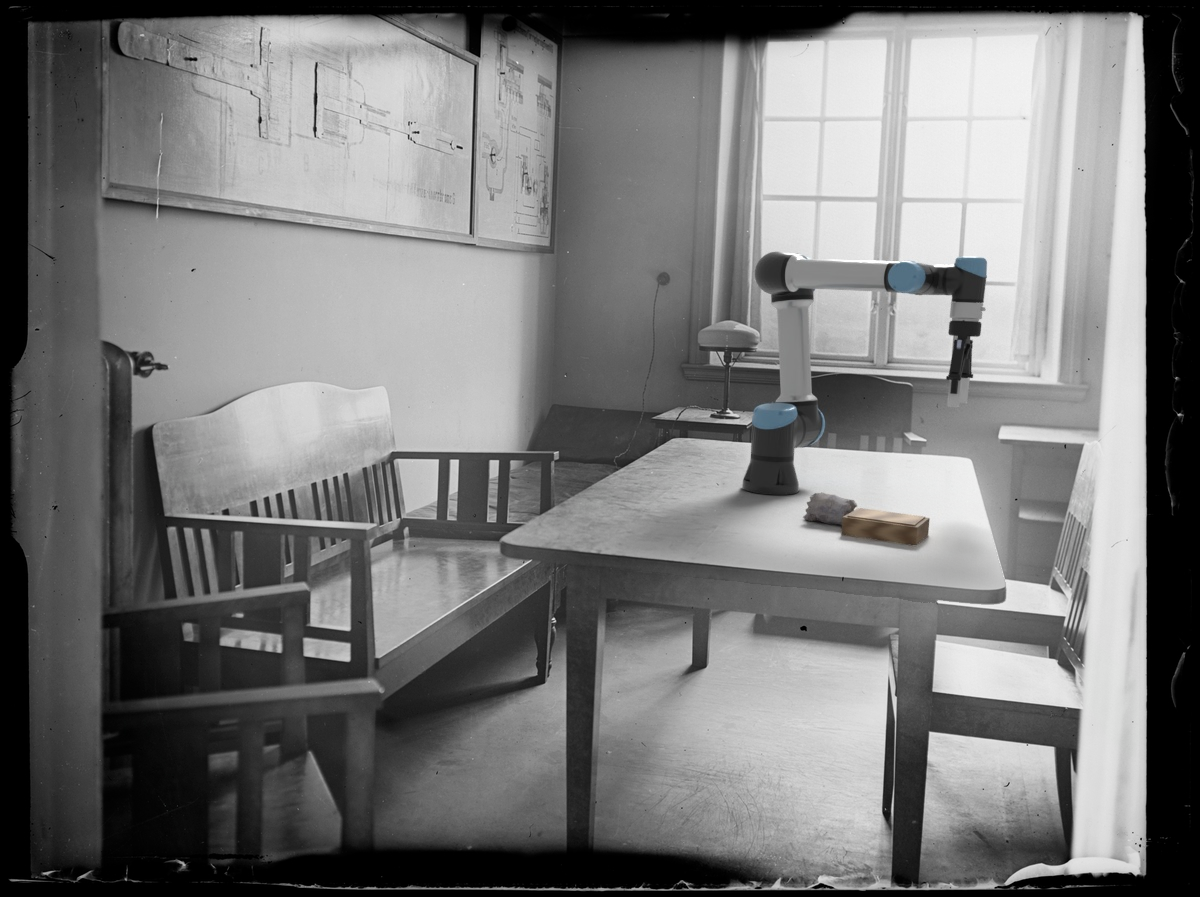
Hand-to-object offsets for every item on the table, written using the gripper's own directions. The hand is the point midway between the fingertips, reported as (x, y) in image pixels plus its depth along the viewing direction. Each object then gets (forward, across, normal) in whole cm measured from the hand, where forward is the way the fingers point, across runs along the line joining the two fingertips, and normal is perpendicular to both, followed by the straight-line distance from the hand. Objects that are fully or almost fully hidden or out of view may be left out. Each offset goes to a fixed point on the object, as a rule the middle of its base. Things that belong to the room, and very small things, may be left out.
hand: (957, 405), depth 241 cm
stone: (+27, -36, +20) cm, 50 cm away
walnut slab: (+26, -42, +6) cm, 50 cm away
